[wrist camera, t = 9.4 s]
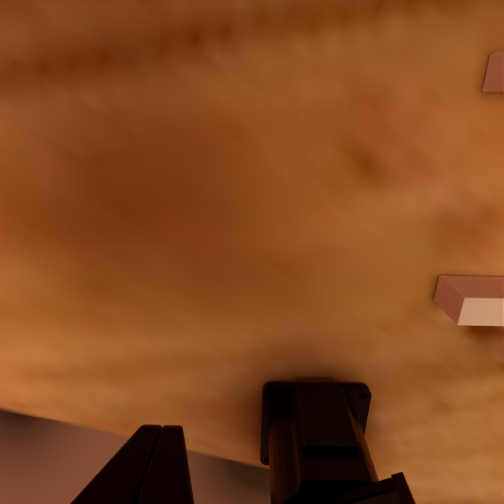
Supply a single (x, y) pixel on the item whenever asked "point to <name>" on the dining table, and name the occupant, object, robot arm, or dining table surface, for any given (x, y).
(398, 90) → the dining table surface
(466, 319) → the white tray
